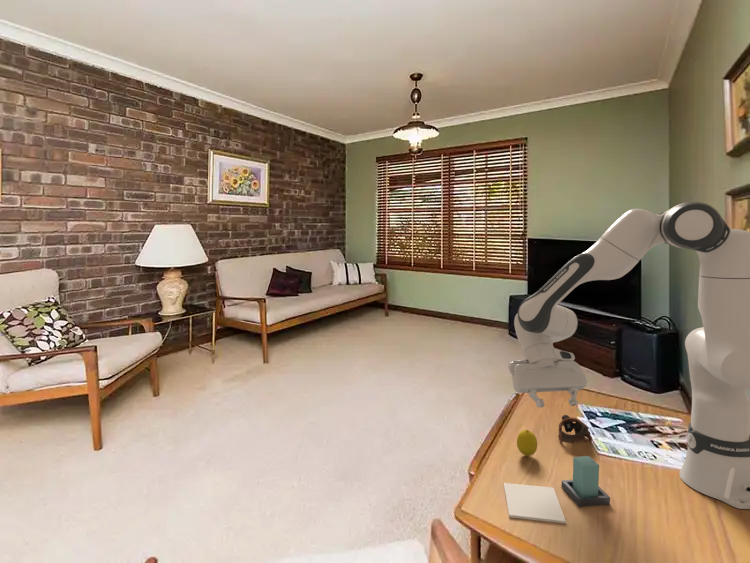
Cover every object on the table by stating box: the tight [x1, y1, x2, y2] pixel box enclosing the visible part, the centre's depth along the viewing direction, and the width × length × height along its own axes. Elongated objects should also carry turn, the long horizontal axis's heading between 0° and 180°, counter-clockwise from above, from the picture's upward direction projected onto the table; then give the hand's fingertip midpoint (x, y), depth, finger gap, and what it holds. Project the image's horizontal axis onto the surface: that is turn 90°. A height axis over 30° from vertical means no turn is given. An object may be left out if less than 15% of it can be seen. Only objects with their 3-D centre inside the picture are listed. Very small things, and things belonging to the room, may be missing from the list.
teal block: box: [572, 455, 600, 498], centre depth 97 cm, size 4×4×9 cm
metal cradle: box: [561, 479, 611, 508], centre depth 97 cm, size 8×8×2 cm
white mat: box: [503, 482, 567, 525], centre depth 95 cm, size 12×12×1 cm
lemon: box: [516, 429, 538, 457], centre depth 115 cm, size 6×6×8 cm
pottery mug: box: [558, 414, 593, 444], centre depth 124 cm, size 12×10×8 cm
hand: (557, 405), depth 108 cm, fingers open, 8 cm apart
